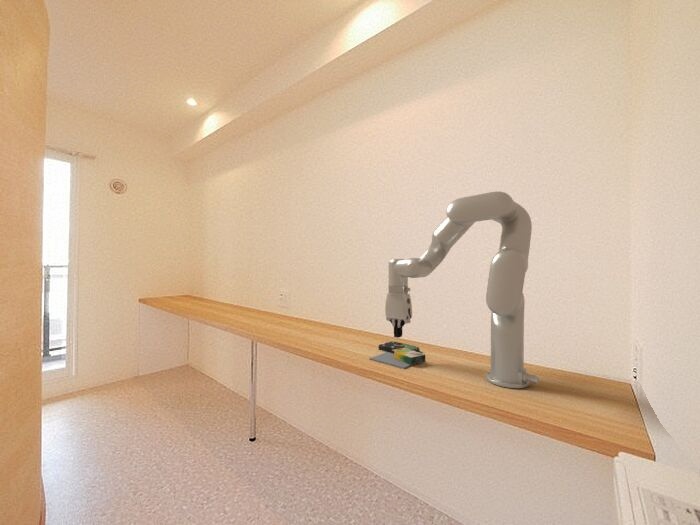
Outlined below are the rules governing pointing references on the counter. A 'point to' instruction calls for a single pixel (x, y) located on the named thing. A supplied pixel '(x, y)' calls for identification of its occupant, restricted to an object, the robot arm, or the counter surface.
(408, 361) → the crayon box
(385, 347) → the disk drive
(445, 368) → the counter surface
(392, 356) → the slate pad
